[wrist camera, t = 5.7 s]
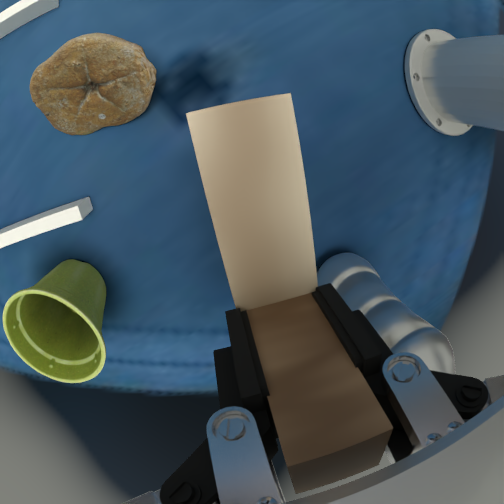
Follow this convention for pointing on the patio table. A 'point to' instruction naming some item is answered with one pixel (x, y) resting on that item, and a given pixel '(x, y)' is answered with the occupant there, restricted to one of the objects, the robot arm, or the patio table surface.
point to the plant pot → (60, 323)
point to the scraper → (284, 289)
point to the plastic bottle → (386, 311)
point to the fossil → (93, 84)
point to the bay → (29, 8)
